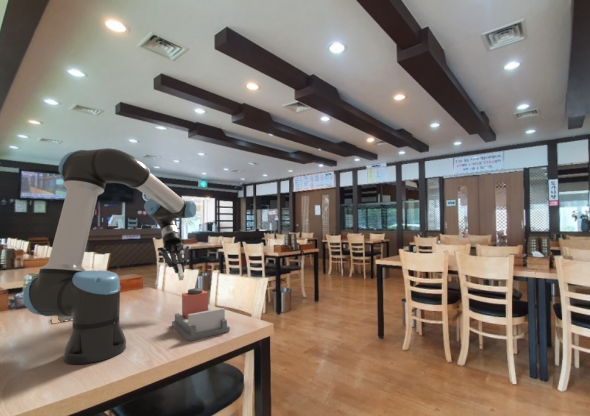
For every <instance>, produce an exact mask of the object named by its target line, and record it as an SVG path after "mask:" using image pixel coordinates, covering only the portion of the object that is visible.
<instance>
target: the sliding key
mask: <svg viewBox="0 0 590 416" xmlns="http://www.w3.org/2000/svg"><path fill="white" fill-rule="evenodd" d="M208 309H209V291H208V292H207V291H206V290H203V289H202V288H201V287H200V288H198V287H195V288H190V289H187V292H183V293H181V315H182V316H183V317H184V318H186V319H188V314H193V313H198V312H203V311H208Z"/></svg>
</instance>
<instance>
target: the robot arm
mask: <svg viewBox="0 0 590 416" xmlns="http://www.w3.org/2000/svg"><path fill="white" fill-rule="evenodd" d="M58 173H59V174H60V175H59V176H60V178H61V180H62V181H63V183H62V184H63V186H64V188H66V194H65V197H64V202H63V206H62V208H61V212H60V215H59V220H58V224H57V228H56V231H55V236H54V239H53V243H52V247H51V250H50V254H49V258H48V262H47V263H46V264H44V265H43V266H42V267H40V269H39V272H38V275H37V276H35V277H33V278H32V279H31V280H30V281H28V282H27V283H26V284H25V287H24V289H23V293H22V300H23V301H22V302H23V304H24V306H25V307H26V308H27V310H28V311H29V312H30V313H31V314H34V315H38V316H39V315H40V316H43V317H58V316H73V320H72V321H71V322H72V325H71V326H72V328H71V332H70V336H69V338H68V341H67V343H66V346H65V349H64V353H63V354H64V355H63V356H64V357H63V361H64V362H65V363H67V364H71V365H85V364H91V363H97V362H102V361H105V360H108V359H110V358H111V359H112V358H113V357H115V356H118V355H120V354H121V353H123V352H124V351H125V350H126V349H127V339H126V336H125V333H124V331H123V329H122V326H121V325H122V324H121V322H120V314H121V313H120V312H121V311H120V310H121V309H120V306H121V305H120V302H121V285H120V284H121V283H120V282H121V281H120V277H119V275H118V274H117V273H116V272H113V271H110V270H109V271H108V270H86V269H85V268H84V267H83V261H84V258H85V256H84V255H85V253H86V249H87V244H88V240H89V235H90V231H91V226H92V223H93V218H94V213H95V210H96V206H97V200H98V196H100V195H102V194H103V193H105V189H106V185H107V184H113V183H114V184H122V185H126V186H127V187H129V188H131V189H136V190H138V191H139V192H141V193H142V194H144V195H145V196H146V197H148V198H149V199H148V200H146V201H145V202H144V205H143V208H144V211H145V212H146V213H147V215H148V216H149V217H151V219H152V220H153V221H154V222H155V223H156V224H157V225H158V226H159V230H160V233H161V238H162V242H163V247H159V251H158V253H159V254H160V255H161V256H162V259H164V261H165V262H166V264H167V266H168V268H172V269H173V270H174V273H175V274H177V276H178V277H177V278H178V280H179V281H183V280H184V278H185V274H184V273H185V267H187V263H188V252H189V249H190V246H189V245H186V246H185V245H184V243H183V242H182V239H181V235H180V232H179V228H178V225H177V221H176V219H188V218H189V219H190V218H194V217H195V216H196V214H197V205H196V203H195V202H194V201H193V200H185V199H183V197H180V195H178V194H177V193H176V192H174V191H173V190H172V189H171V188H170V187H168V186H167V185H166V184H165V183H163V182H162V181H161V180H160V179H159V178H158V177H157V176H155V175H154V174H152V173H151V170H150V168H149V167H148V166H147V165H146V164H145V163H144V162H142V160H139V159H138V158H137V157H135V156H133V155H132V154H129V153H126V152H125V151H123V150H120V149H116V148H110V147H108V148H98V149H88V150H87V149H80V150H79V149H78V150H76V151H74V150H73V151H70V152H68V153H66V154H65V155H64V156H63V157H62V158H61V160H60V161H59V163H58ZM182 250H183V251H182ZM181 252H183V256H182V253H181Z"/></svg>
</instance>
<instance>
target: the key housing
mask: <svg viewBox="0 0 590 416" xmlns="http://www.w3.org/2000/svg"><path fill="white" fill-rule="evenodd" d="M225 311H226V308H224V307H222V308H215V309H209V308H208V311H203V312H198V313H193V314H188V319H186V318H184V317H183V316H182V313H180V312H178V313H174V320H172V321H171V326H172V327H173V328H174V329H175V330H176V331H177V332H178V334H180V335H181V336H182V337H183V338H184V339H185V340H186V341H187V342H191V341H196V340H199V339H205V338H208V337H211V336H212V335H213V336H216V335H221V334H225V333H228V332H229V331H231V330H230V326H229V325H228V320H227V319H226V313H225ZM224 332H225V333H224ZM220 333H221V334H220Z"/></svg>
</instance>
